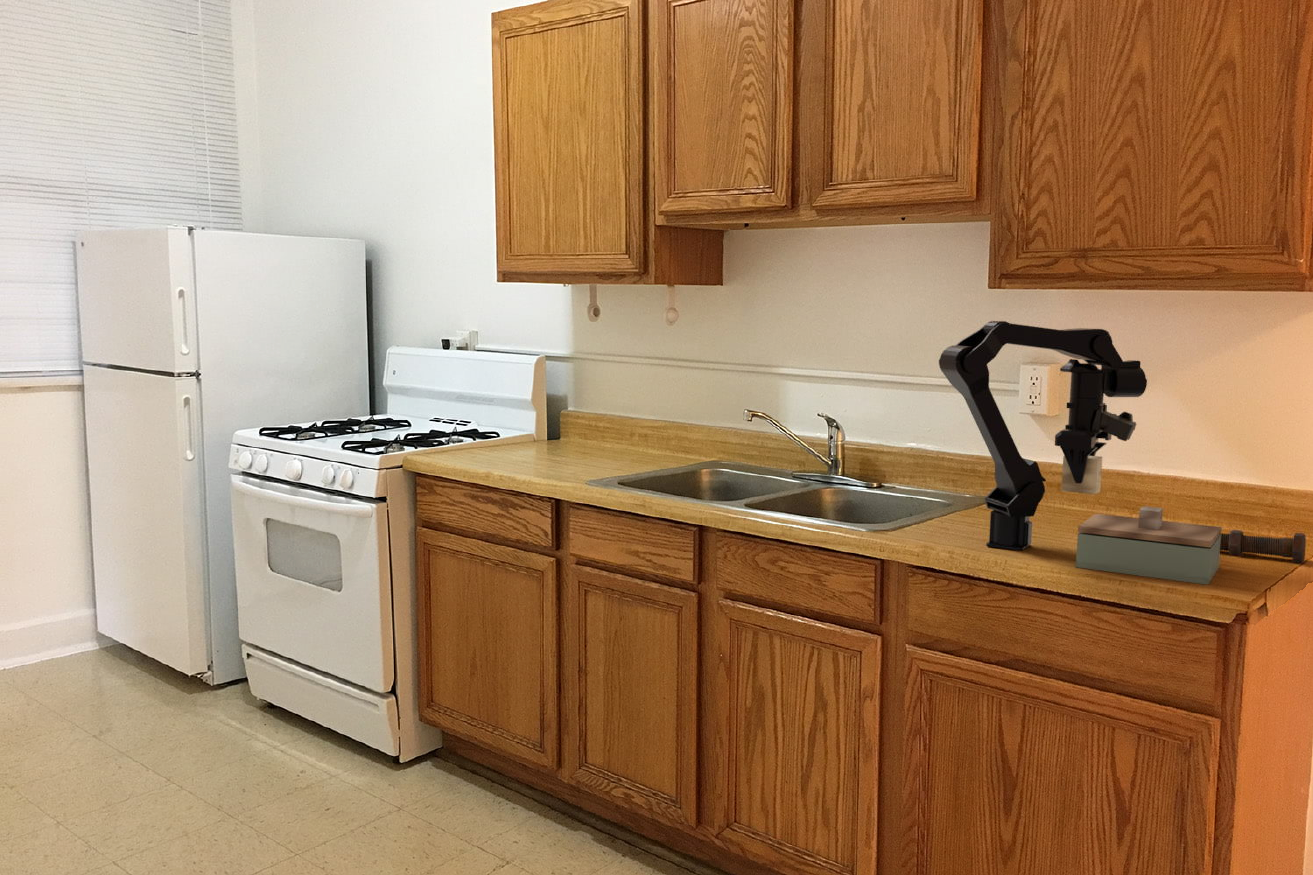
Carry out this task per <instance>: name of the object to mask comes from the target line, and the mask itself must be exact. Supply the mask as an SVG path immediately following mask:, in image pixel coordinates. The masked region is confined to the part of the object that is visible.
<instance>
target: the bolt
mask: <svg viewBox="0 0 1313 875" xmlns="http://www.w3.org/2000/svg"><path fill="white" fill-rule="evenodd" d="M1220 535H1221V542H1220V552H1221V551H1224V552H1225V551H1226V552H1228V555H1231V556H1235V557H1236V556H1238V557H1239V556H1242V555H1243V553H1245V554H1246V553H1247V554H1248V553H1249V554H1254V555H1255V554H1258V555H1265V556H1274V557H1276V556H1277V557H1283V558H1289V559H1292V563H1293V564H1299V565H1301V564H1304V562H1305V559H1306V558H1305V557H1306V543H1307V539H1306V534H1305V533H1303V532H1295V533H1294V535H1293V538H1292V537H1272V536H1271V537H1270V536H1259V535H1256V536H1255V535H1248V534H1247V535H1245V534H1244V532H1243V530H1241V529H1240V530H1239V529H1232V530H1230V532H1229V533H1225V532H1224V533H1222V532H1221V534H1220Z"/></svg>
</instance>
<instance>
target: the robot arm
mask: <svg viewBox="0 0 1313 875" xmlns="http://www.w3.org/2000/svg"><path fill="white" fill-rule="evenodd" d="M1112 339H1113V338H1112V336H1111V335H1110V332H1109V331H1108V330H1106V329H1102V328H1084V327H1083V328H1081V327H1079V328H1065V329H1064V328H1063V329H1056V328H1054V329H1053V328H1047V327H1039V326H1032V325H1024V324H1017V323H1010V322H1007V321H1006V320H990V321H988V322H986V323H985V324H984V325H983V326H982V327H980V328H979V329H978V330H976V331H974V332H973V333H971V334H970V335H968V336H966V337H965V338H963V339H962V340H960V341H959V342H958V343H956V344H954V345H951V346H950V345H949V346H947V347H946V348H945V349H943V351H942V353H941V354H940V357H939V359H938V365H939V368H940V371H941V372H942V373H943V376H945V378H946V379H947V382H949V384H950V385H951V386H952V387H953V388H955V390H957V391H958V393H959V394H960V395H961V396H962V397H963V399H964V401H965V402H966V405H967V407H968V409H969V411H970V414H971V415H972V418H973V420H974V422H975V424H976V426H977V429H978V431H979V432H980V434H981V437H982V439H983V441H984V442H985V445H986V447H987V449H988V452H989V454H990V456H991V458H992V460H993V463H994V480H995V483H996V486H995V487H994V488H993V489H992V490H991V491H990V492H989V493H988V495H987V496H985V497H984V502H985V505H986V509H988V510H991V511H990V517H989V518H990V519H989V535H988V536H989V539H988V542H986V544H985V546H986V547H992V548H993V547H994V548H1001V549H1008V550H1016V551H1023V550H1024V549H1027V547H1029V546H1031V544H1032V536H1033V521H1030V517H1034V516H1035V514H1036V512H1037V510H1038V506H1039V503H1040V502H1041V501H1042V500H1043V498H1044V495H1045V493H1046V487H1045V486H1046V485H1045V484H1044V482H1046V480H1047V479H1046V478H1045V477H1043V475H1042V473H1041V470H1040V467H1039V464H1038V462H1037V461H1035V460H1031V459H1028V458H1024V457H1022V456H1021V454H1020V452H1019V449H1018V448H1017V445H1016V443H1015V440H1014V439H1013V437H1012V435H1011V432H1010V430H1009V428H1008V425H1007V424H1006V421H1005V419H1004V417H1003V416H1002V413H1001V411H1000V408H999V406H998V404H997V403H996V402H997V401H996V400H995V398H994V396H993V393H992V392H991V389H990V370H989V367H988V364H989V363H990V362H992V360H994V359H995V358H996V357H997V355H998V354H999V352H1000V351H1001V350H1002V348H1003V347H1004V346H1005V345H1006V344H1007V345H1012V346H1013V345H1014V346H1022V347H1030V348H1038V349H1045V350H1052V351H1055V352H1057V353H1059V354H1061V355H1063V356H1067V357H1070V358H1071V359H1069V360H1068V362H1067V363H1065V364H1064V365H1063V366H1062V367H1060V369H1059V371H1060V372H1062V373H1063V372H1064V373H1071V374H1070V392H1069V402H1066V409H1068V420H1067V422H1068V423H1066V424H1065V426H1064V427H1065V428H1064V429H1062V430H1059V432H1057V433H1056V434H1055V436H1054V446H1056V447H1059V448H1060V449H1061V451H1062V453H1063V456H1065V458H1066V460H1067V463H1068V465H1069V468H1070V470H1071V473H1072V475H1073V478H1074V480H1075V483H1080V484H1081V483H1082V481H1083V477H1084V473H1085V469H1086V465H1087V460H1088V456H1097V455H1096V454H1097V452H1098V451H1099V450H1101V449H1102V448H1103V447H1104V446H1106V445H1107V442H1102V441H1099V439H1102V440H1104V441H1111V440H1112V436H1114V437H1115V438H1117V439H1118V440H1120V441H1123V442H1127V441H1129V440H1130V439H1131V437H1132V434H1133V433H1134V431H1135V430H1136V426H1137V422H1136V421H1134V420H1133V419H1134V418H1133V414H1132V413H1130V412H1127V411H1123V412H1121V413H1120V414H1119V415H1118V414H1117V413H1112V412H1109V411H1108V405H1107V404H1106V402H1104V395H1105V396H1106V397H1108V398H1139V397H1141V396H1142V395H1143V394H1145V392H1146V390H1147V386H1148V379H1147V377H1146V372H1145V371H1144V369H1143V368H1142V367H1141V363H1142V362H1141V361H1140V360H1135V359H1134V360H1130V359H1128V360H1123V359H1122V357H1121V356H1120V353H1119V352H1118V350H1117V349H1116V347H1115V345H1114V344H1113V340H1112ZM1079 360H1083V361H1084V363H1083V362H1082V363H1081V362H1080V361H1079ZM1097 366H1101V367H1100V368H1099V367H1097Z"/></svg>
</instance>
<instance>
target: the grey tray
mask: <svg viewBox="0 0 1313 875" xmlns="http://www.w3.org/2000/svg"><path fill="white" fill-rule="evenodd" d="M1076 541H1077V542H1076V556H1075V557H1076V558H1075V559H1076V560H1075V568H1079V569H1087V570H1096V571H1102V572H1109V573H1110V572H1111V573H1117V574H1119V573H1120V574H1125V575H1131V576H1132V575H1133V576H1140V577H1146V578H1154V579H1155V578H1156V579H1163V580H1170V581H1177V582H1186V583H1190V584H1191V583H1192V584H1199V585H1210V582H1211V581H1212V579H1214V578H1213V577H1214V576H1215V575H1216V573H1217V571H1218V570H1219V566H1220V552H1221V551H1220V542H1221V535H1219V537H1218V538H1217V539H1216V541H1215V542H1214V544H1213V545H1212V546H1211V547H1202V546H1193V545H1185V544H1176V543H1168V542H1159V541H1150V540H1142V539H1133V538H1125V537H1116V536H1107V535H1099V534H1090V533H1082V532H1078V533H1077V540H1076Z"/></svg>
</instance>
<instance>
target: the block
mask: <svg viewBox="0 0 1313 875" xmlns="http://www.w3.org/2000/svg"><path fill="white" fill-rule="evenodd" d="M1062 461H1063V462H1062V473H1061V474H1062V476H1061V488H1060V489H1061V492H1068V493H1077V494H1088V495H1097V494H1099V493H1101V485H1102V472H1103V471H1102V470H1103V456H1098V455H1095V456H1088V460H1087V465H1086V469H1085V473H1084V477H1083V481H1082V483H1081V484H1080V483H1075V480H1074V478H1073V475H1072V473H1071V470H1070V468H1069V465H1068V463H1067V460H1066V458H1065V456H1064V455H1063V458H1062Z"/></svg>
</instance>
